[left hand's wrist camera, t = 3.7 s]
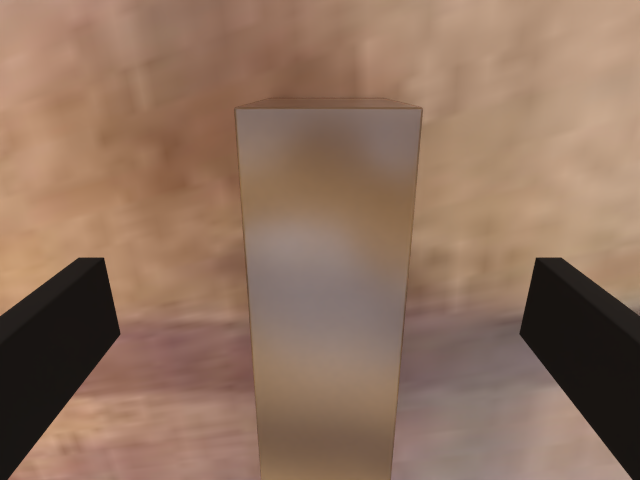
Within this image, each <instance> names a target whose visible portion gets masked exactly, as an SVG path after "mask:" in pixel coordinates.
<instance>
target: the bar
mask: <svg viewBox="0 0 640 480" xmlns="http://www.w3.org/2000/svg"><path fill="white" fill-rule="evenodd" d="M234 113H235V127H236V141H237V155H238V169H239V182H240V196H241V210H242V224H243V238H244V251H245V265H246V279H247V293H248V307H249V320H250V334H251V348H252V362H253V376H254V389H255V403H256V417H257V431H258V445H259V458H260V472H261V480H391V470H392V458H393V447H394V435H395V424H396V412H397V401H398V389H399V378H400V366H401V355H402V343H403V332H404V321H405V309H406V298H407V286H408V275H409V263H410V252H411V240H412V229H413V217H414V206H415V194H416V183H417V171H418V160H419V148H420V137H421V126H422V114H423V108H421V107H418V106H414V105H410V104H406V103H402V102H398V101H393V100H389V99H385V98H268V99H265V100H261V101H257V102H253V103H250V104H246V105H242V106H238V107H235V109H234Z"/></svg>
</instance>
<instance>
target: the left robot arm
mask: <svg viewBox="0 0 640 480" xmlns="http://www.w3.org/2000/svg"><path fill="white" fill-rule="evenodd" d="M119 335H120V329H119V325H118V320H117V315H116V311H115V306H114V302H113V297H112V292H111V288H110V283H109V279H108V274H107V270H106V265H105V260H104V258H78V259H76V260H75V261H74V262H72V263H71V264H70V265H68V266H67V267H66V268H64V269H63V270H62V271H60V272H59V273H58V274H56V275H55V276H54V277H52V278H51V279H50V280H48V281H47V282H45V283H44V284H43V285H41V286H40V287H39V288H37V289H36V290H35V291H33V292H32V293H31V294H29V295H28V296H27V297H25V298H24V299H23V300H21V301H20V302H19V303H17V304H16V305H15V306H13V307H12V308H11V309H9V310H8V311H7V312H5V313H4V314H3V315H1V316H0V480H8V478H9V477H10V476H11V474H12V473H13V472H14V471H15V469H16V468H17V467H18V465H19V464H20V463H21V462H22V460H23V459H24V458H25V456H26V455H27V454H28V453H29V451H30V450H31V449H32V447H33V446H34V445H35V444H36V442H37V441H38V440H39V438H40V437H41V436H42V435H43V433H44V432H45V431H46V429H47V428H48V427H49V426H50V424H51V423H52V422H53V420H54V419H55V418H56V417H57V415H58V414H59V413H60V411H61V410H62V409H63V408H64V406H65V405H66V404H67V402H68V401H69V400H70V399H71V397H72V396H73V395H74V393H75V392H76V391H77V390H78V388H79V387H80V386H81V384H82V383H83V382H84V380H85V379H86V378H87V377H88V375H89V374H90V373H91V371H92V370H93V369H94V368H95V366H96V365H97V364H98V362H99V361H100V360H101V359H102V357H103V356H104V355H105V353H106V352H107V351H108V350H109V348H110V347H111V346H112V344H113V343H114V342H115V341H116V339H117V338H118V337H119ZM520 335H521V337H522V338H523V339H524V341H525V342H526V343H527V344H528V346H529V347H530V348H531V350H532V351H533V352H534V353H535V355H536V356H537V357H538V359H539V360H540V361H541V362H542V364H543V365H544V366H545V368H546V369H547V370H548V371H549V373H550V374H551V375H552V377H553V378H554V379H555V380H556V382H557V383H558V384H559V386H560V387H561V388H562V390H563V391H564V392H565V393H566V395H567V396H568V397H569V399H570V400H571V401H572V402H573V404H574V405H575V406H576V408H577V409H578V410H579V411H580V413H581V414H582V415H583V417H584V418H585V419H586V420H587V422H588V423H589V424H590V426H591V427H592V428H593V429H594V431H595V432H596V433H597V435H598V436H599V437H600V438H601V440H602V441H603V442H604V444H605V445H606V446H607V447H608V449H609V450H610V451H611V453H612V454H613V455H614V456H615V458H616V459H617V460H618V462H619V463H620V464H621V465H622V467H623V468H624V469H625V471H626V472H627V473H628V474H629V476H630V477H631V478H632V480H640V316H639V315H637V314H636V313H635V312H633V311H632V310H631V309H629V308H628V307H627V306H625V305H624V304H623V303H621V302H620V301H619V300H617V299H616V298H615V297H613V296H612V295H611V294H609V293H608V292H607V291H605V290H604V289H603V288H601V287H600V286H599V285H597V284H596V283H595V282H593V281H592V280H590V279H589V278H588V277H586V276H585V275H584V274H582V273H581V272H580V271H578V270H577V269H576V268H574V267H573V266H572V265H570V264H569V263H568V262H566V261H565V260H564V259H562V258H536V260H535V265H534V270H533V274H532V279H531V283H530V288H529V292H528V297H527V302H526V306H525V311H524V315H523V320H522V325H521V329H520Z"/></svg>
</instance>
